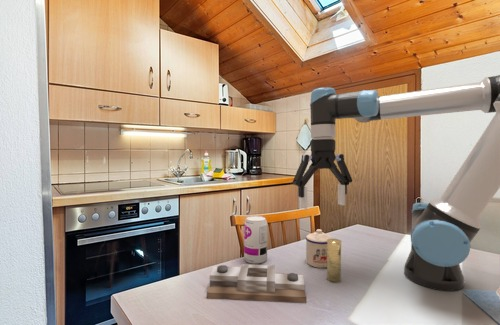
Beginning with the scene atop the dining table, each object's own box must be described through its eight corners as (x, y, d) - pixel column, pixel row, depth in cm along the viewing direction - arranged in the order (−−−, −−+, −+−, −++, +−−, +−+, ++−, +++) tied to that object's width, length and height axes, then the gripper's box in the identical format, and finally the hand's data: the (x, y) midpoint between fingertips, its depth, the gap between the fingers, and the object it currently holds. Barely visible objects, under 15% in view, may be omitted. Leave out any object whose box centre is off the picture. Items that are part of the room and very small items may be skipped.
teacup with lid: (313, 269, 89) (313, 234, 89) (301, 259, 98) (301, 227, 98) (345, 265, 92) (345, 232, 92) (330, 255, 101) (331, 224, 101)
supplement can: (247, 265, 92) (247, 222, 92) (241, 256, 100) (241, 216, 100) (270, 263, 95) (270, 220, 94) (262, 254, 103) (263, 214, 102)
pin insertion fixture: (301, 278, 83) (301, 261, 83) (306, 302, 70) (306, 281, 70) (216, 275, 85) (216, 258, 85) (206, 297, 72) (206, 277, 72)
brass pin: (343, 279, 83) (343, 240, 82) (336, 284, 80) (337, 243, 79) (330, 275, 85) (331, 237, 85) (324, 279, 83) (324, 240, 82)
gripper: (348, 139, 93) (348, 201, 94) (281, 139, 85) (282, 206, 86) (364, 138, 86) (364, 205, 87) (292, 138, 78) (292, 211, 79)
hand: (323, 206), depth 86 cm, fingers open, 13 cm apart
